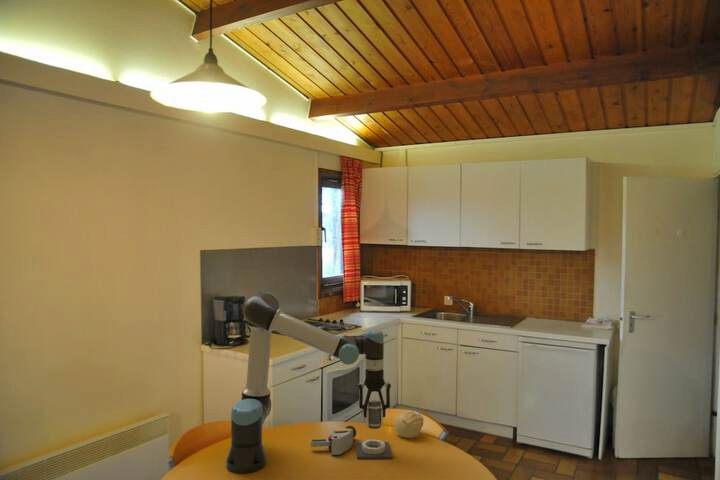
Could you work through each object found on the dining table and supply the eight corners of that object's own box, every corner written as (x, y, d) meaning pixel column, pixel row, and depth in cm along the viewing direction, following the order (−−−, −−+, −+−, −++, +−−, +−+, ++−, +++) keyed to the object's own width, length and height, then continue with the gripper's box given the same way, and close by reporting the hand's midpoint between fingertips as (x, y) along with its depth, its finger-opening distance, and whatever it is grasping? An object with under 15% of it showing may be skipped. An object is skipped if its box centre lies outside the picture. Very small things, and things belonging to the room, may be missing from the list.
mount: (357, 459, 197) (357, 451, 197) (355, 444, 211) (355, 437, 211) (392, 458, 198) (392, 451, 198) (388, 444, 212) (388, 437, 212)
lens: (368, 429, 201) (368, 404, 201) (367, 424, 207) (367, 400, 206) (381, 428, 202) (381, 404, 202) (380, 424, 207) (380, 400, 207)
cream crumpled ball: (409, 443, 213) (410, 418, 213) (389, 434, 222) (390, 410, 222) (427, 436, 221) (427, 412, 220) (407, 428, 229) (407, 405, 229)
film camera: (325, 437, 221) (357, 440, 216) (307, 452, 202) (342, 457, 198) (325, 421, 221) (357, 424, 216) (308, 435, 203) (342, 439, 198)
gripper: (352, 371, 200) (352, 428, 200) (397, 370, 201) (397, 427, 201) (352, 366, 207) (352, 421, 207) (395, 365, 208) (395, 421, 208)
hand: (374, 424), depth 204 cm, fingers closed on lens, 5 cm apart
